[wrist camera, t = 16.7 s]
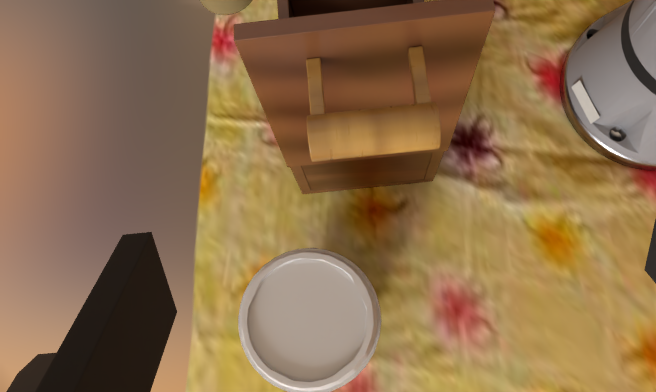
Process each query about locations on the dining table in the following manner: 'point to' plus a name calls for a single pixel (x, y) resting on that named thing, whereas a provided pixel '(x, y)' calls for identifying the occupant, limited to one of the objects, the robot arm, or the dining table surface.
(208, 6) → the tan rounded upright piece
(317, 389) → the disposable coffee cup
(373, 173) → the box
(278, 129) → the lid
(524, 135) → the dining table surface
